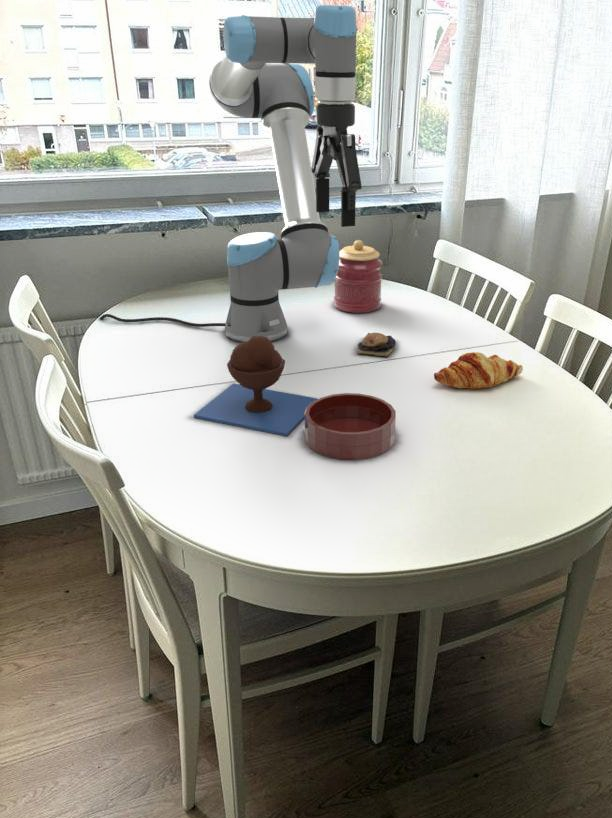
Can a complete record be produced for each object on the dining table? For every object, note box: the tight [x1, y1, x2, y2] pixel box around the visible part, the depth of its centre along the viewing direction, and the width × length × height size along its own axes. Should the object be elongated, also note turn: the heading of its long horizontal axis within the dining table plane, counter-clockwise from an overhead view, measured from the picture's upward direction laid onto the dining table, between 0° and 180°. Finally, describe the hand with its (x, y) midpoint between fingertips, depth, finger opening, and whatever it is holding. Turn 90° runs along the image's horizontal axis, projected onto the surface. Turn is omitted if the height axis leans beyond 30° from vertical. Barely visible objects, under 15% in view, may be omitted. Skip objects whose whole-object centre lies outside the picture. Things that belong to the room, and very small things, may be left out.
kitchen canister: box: [333, 239, 383, 314], centre depth 195 cm, size 13×13×18 cm
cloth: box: [193, 383, 318, 437], centre depth 145 cm, size 20×16×1 cm
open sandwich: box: [357, 332, 397, 358], centre depth 173 cm, size 11×8×4 cm
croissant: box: [433, 351, 524, 390], centre depth 157 cm, size 21×10×8 cm, turn 110°
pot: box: [304, 392, 397, 461], centre depth 134 cm, size 17×17×5 cm
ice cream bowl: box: [226, 336, 286, 413], centre depth 141 cm, size 11×11×15 cm
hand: (335, 218), depth 149 cm, fingers open, 13 cm apart
